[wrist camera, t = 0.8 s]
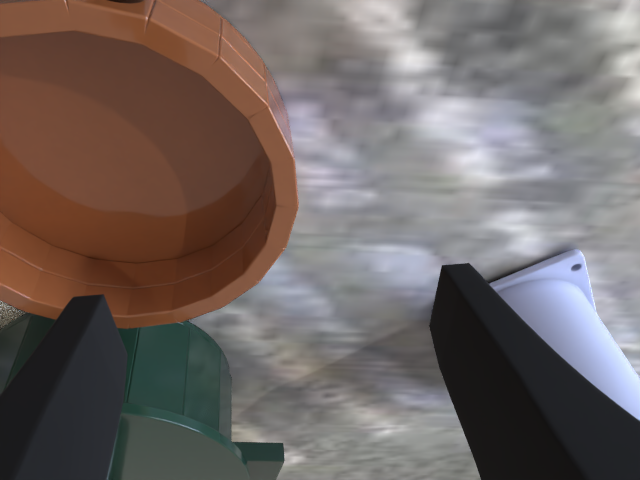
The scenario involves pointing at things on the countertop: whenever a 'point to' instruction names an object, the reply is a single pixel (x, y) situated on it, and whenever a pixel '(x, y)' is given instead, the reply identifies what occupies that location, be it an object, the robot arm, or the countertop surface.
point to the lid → (171, 448)
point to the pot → (160, 377)
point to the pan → (137, 159)
